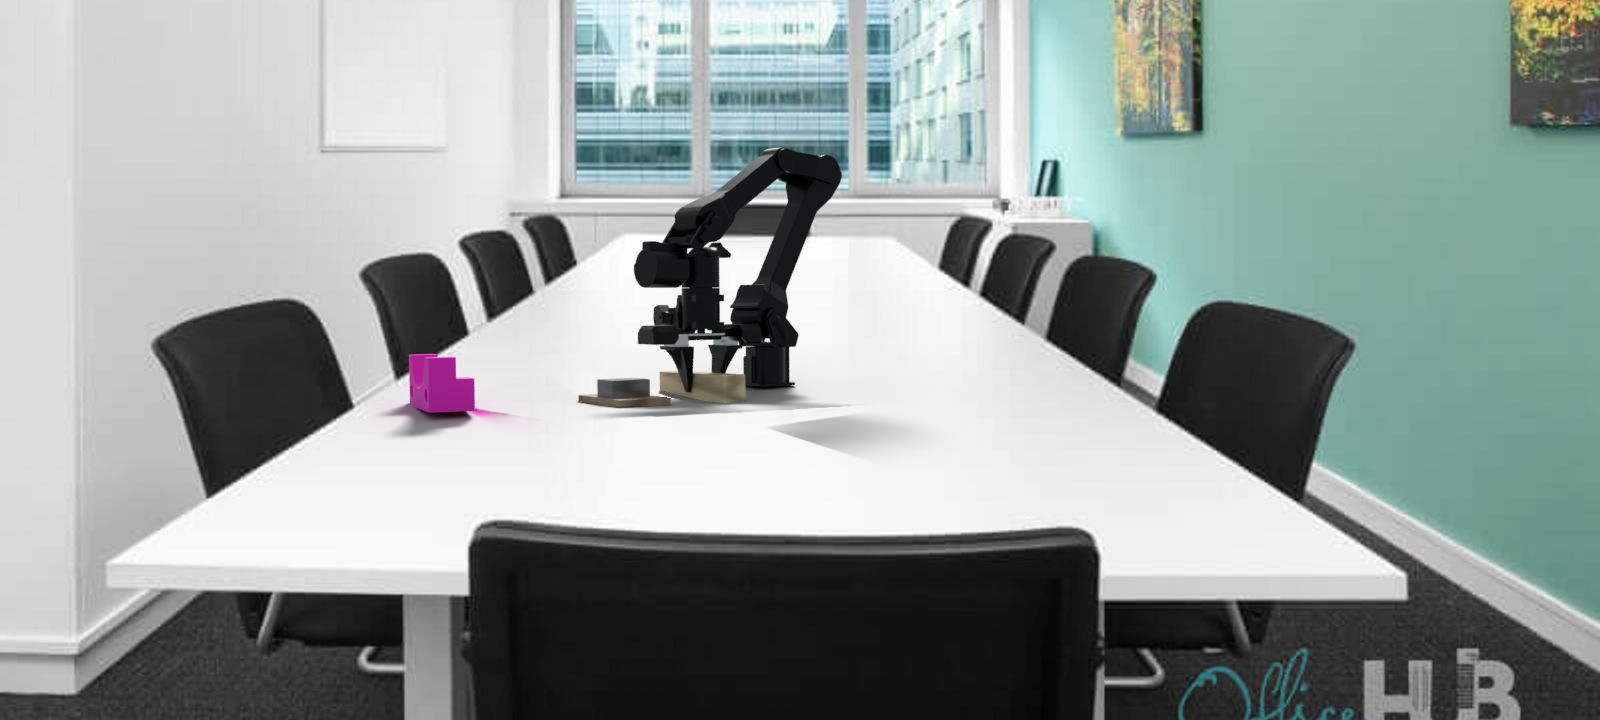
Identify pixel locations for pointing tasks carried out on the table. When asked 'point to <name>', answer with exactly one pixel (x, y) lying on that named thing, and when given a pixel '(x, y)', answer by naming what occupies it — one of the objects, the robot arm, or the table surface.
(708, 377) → the beam
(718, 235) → the robot arm
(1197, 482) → the table surface
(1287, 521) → the table surface
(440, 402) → the toy block
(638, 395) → the fulcrum stand
